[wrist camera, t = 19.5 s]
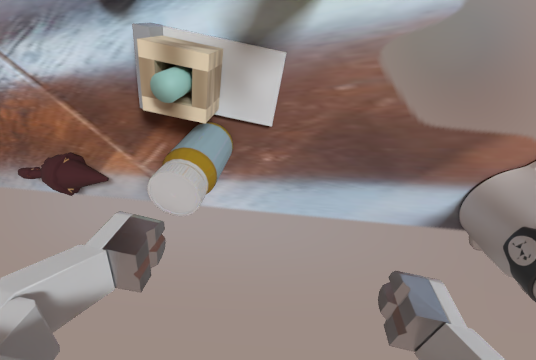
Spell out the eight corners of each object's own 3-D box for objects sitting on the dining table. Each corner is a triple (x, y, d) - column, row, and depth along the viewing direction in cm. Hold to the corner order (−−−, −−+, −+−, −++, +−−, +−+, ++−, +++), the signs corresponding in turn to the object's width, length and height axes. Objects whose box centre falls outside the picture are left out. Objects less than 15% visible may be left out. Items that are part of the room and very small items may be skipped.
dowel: (205, 87, 36) (181, 104, 29) (182, 85, 36) (152, 101, 29) (203, 62, 35) (177, 73, 27) (180, 60, 35) (147, 70, 27)
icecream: (86, 162, 39) (5, 151, 41) (92, 207, 41) (15, 194, 44) (119, 153, 46) (47, 144, 48) (123, 193, 48) (54, 182, 50)
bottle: (210, 167, 45) (173, 227, 32) (182, 134, 42) (130, 185, 29) (242, 148, 42) (216, 205, 29) (215, 112, 39) (173, 157, 27)
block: (223, 48, 33) (208, 54, 28) (218, 109, 37) (205, 123, 32) (162, 35, 33) (136, 38, 28) (164, 97, 37) (143, 110, 32)
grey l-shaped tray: (286, 52, 34) (284, 56, 30) (272, 124, 39) (269, 135, 35) (151, 22, 34) (132, 23, 30) (155, 99, 39) (139, 107, 35)
